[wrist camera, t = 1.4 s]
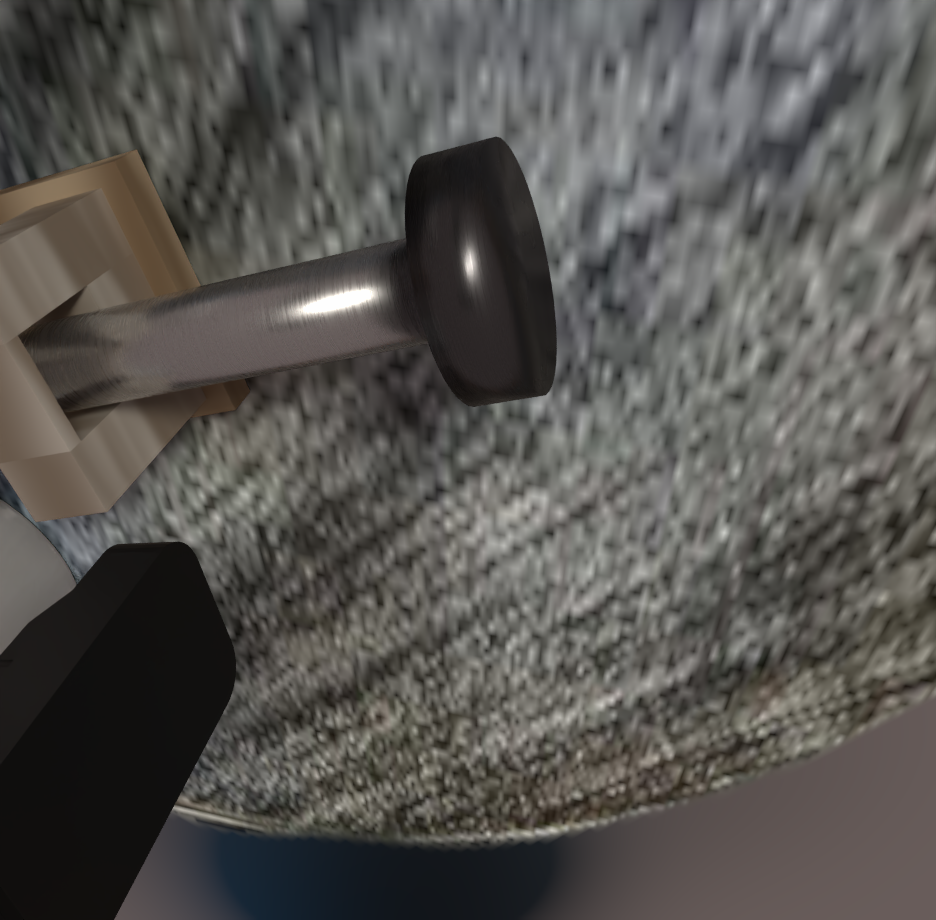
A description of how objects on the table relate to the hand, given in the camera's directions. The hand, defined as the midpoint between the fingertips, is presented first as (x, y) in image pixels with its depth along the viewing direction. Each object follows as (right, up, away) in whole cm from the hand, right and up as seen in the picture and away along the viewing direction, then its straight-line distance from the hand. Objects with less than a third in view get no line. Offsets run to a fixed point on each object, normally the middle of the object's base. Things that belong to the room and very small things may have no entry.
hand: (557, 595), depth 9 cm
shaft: (-7, +7, +21) cm, 23 cm away
